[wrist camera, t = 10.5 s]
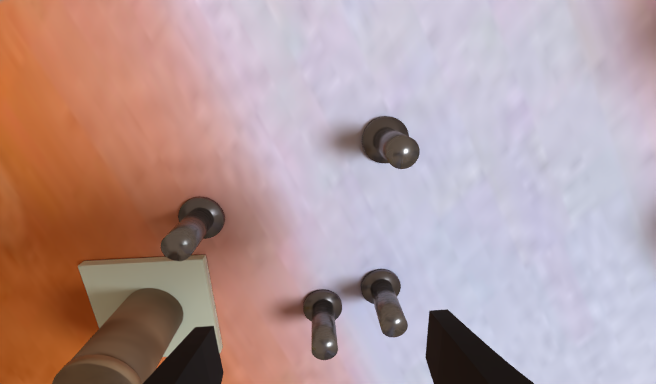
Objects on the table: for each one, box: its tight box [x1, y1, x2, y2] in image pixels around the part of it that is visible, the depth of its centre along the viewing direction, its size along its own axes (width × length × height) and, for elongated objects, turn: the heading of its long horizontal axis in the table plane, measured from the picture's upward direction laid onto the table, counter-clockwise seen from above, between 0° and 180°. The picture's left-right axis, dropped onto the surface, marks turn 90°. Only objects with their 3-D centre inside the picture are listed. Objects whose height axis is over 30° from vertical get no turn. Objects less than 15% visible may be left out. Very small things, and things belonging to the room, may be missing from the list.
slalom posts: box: [161, 116, 419, 360], centre depth 18 cm, size 15×15×4 cm
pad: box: [78, 255, 223, 357], centre depth 21 cm, size 8×8×1 cm
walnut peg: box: [52, 288, 183, 384], centre depth 18 cm, size 4×4×6 cm
